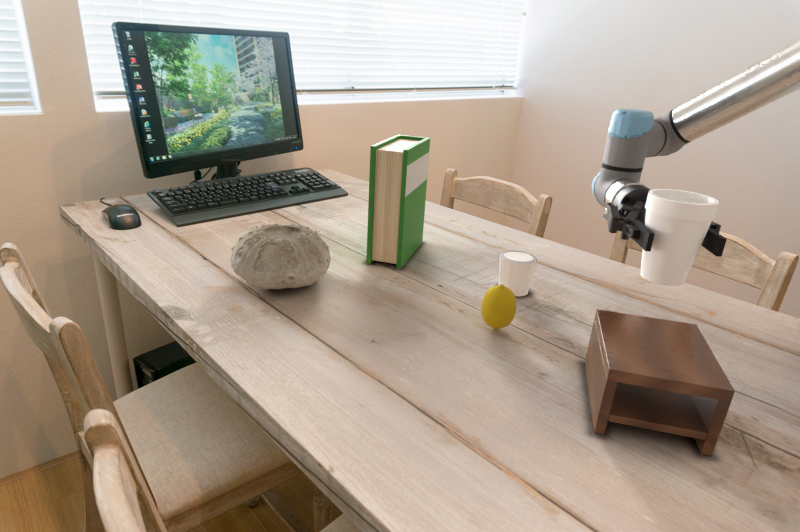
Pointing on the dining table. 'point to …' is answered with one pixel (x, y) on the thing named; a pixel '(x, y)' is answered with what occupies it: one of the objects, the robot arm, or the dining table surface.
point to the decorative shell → (280, 256)
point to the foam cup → (675, 233)
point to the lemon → (498, 306)
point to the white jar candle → (516, 270)
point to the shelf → (656, 378)
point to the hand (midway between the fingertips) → (685, 245)
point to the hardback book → (397, 198)
